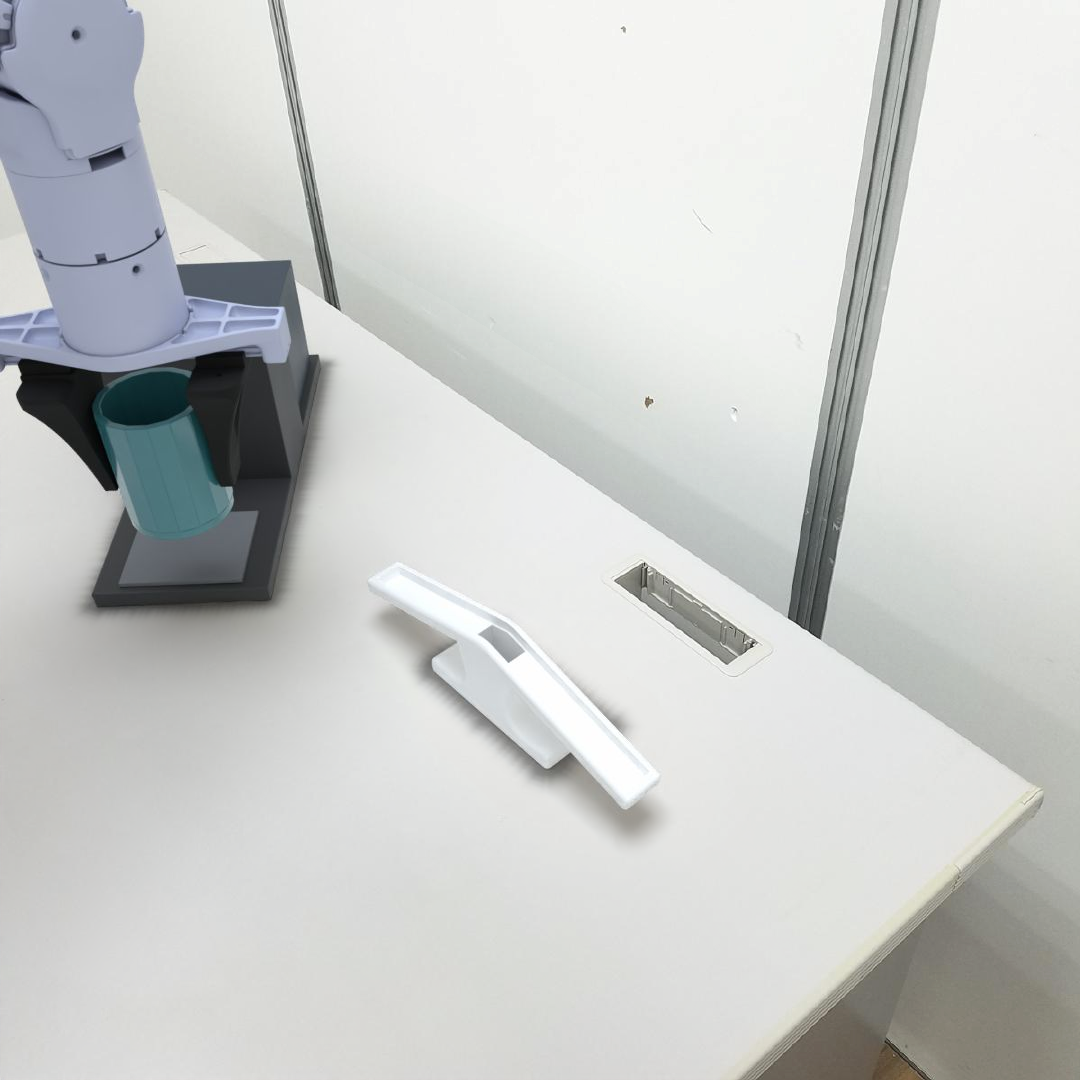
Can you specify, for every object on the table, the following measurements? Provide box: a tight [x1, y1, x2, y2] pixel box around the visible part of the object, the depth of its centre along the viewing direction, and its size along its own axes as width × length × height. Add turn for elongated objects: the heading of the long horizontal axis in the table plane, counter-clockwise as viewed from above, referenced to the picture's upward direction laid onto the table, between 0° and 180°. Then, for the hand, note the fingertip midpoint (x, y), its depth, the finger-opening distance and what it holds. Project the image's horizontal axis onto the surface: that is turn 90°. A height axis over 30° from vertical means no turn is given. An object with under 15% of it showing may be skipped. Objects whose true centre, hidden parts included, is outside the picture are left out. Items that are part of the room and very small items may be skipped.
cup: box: [92, 367, 234, 540], centre depth 58 cm, size 5×5×7 cm
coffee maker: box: [91, 259, 322, 607], centre depth 71 cm, size 24×10×10 cm, turn 2°
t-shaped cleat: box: [366, 561, 662, 810], centre depth 57 cm, size 4×20×5 cm, turn 42°
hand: (174, 477), depth 59 cm, fingers closed on cup, 5 cm apart
